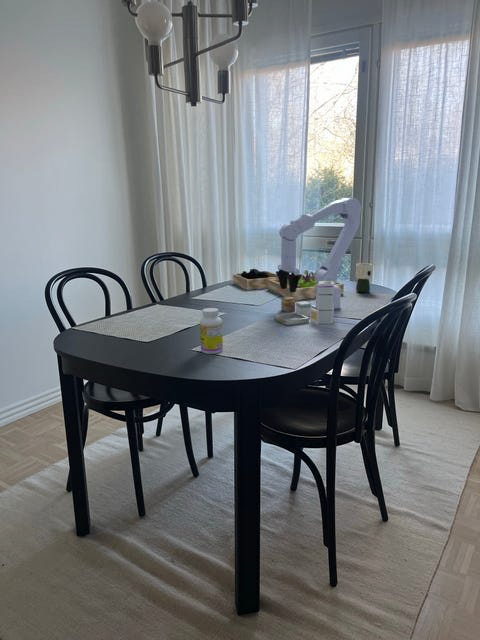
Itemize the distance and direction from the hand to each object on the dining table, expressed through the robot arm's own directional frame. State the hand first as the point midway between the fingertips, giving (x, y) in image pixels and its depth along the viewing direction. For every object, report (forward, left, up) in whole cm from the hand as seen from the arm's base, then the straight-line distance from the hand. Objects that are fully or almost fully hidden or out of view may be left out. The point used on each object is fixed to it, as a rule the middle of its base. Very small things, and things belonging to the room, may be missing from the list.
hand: (288, 290), depth 187 cm
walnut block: (0, 0, -8) cm, 8 cm away
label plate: (0, +21, -8) cm, 23 cm away
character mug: (-47, -15, -8) cm, 50 cm away
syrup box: (-4, +21, -8) cm, 23 cm away
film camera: (-10, -52, -9) cm, 54 cm away
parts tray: (+6, +15, -8) cm, 18 cm away
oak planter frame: (-23, -27, -8) cm, 36 cm away
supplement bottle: (+44, +34, -8) cm, 56 cm away
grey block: (-2, +10, -8) cm, 13 cm away
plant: (-24, -26, -9) cm, 36 cm away
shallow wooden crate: (-11, -53, -8) cm, 55 cm away
